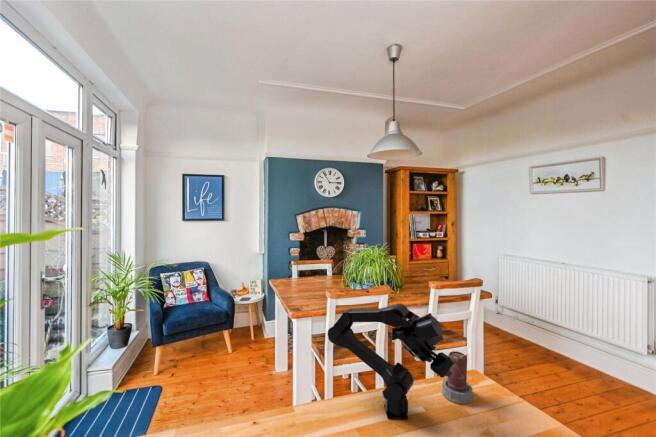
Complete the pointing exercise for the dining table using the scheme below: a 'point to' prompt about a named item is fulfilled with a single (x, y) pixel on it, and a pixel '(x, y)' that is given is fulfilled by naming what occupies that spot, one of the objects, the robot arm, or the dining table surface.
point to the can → (458, 372)
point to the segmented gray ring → (457, 394)
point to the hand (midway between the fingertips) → (440, 367)
